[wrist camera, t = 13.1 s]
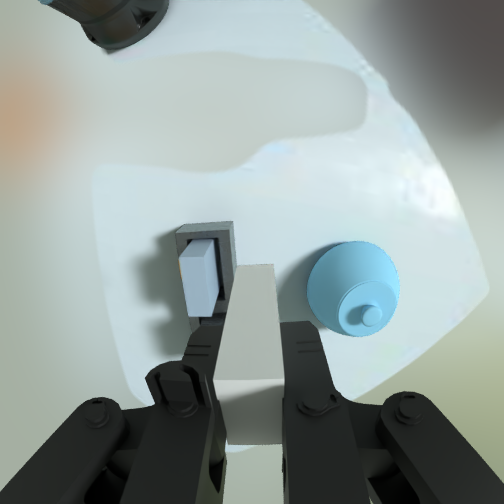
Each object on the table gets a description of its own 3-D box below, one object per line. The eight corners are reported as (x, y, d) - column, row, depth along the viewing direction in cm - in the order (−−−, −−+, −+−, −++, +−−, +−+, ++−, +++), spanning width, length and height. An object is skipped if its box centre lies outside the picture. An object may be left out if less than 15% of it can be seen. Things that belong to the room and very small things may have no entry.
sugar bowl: (398, 242, 42) (434, 269, 31) (376, 321, 47) (399, 360, 36) (313, 231, 42) (330, 258, 31) (298, 317, 47) (306, 360, 36)
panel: (196, 234, 42) (178, 257, 32) (216, 233, 42) (203, 256, 32) (202, 283, 44) (188, 316, 35) (221, 282, 44) (211, 316, 35)
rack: (181, 224, 42) (157, 246, 32) (232, 221, 42) (223, 242, 32) (201, 347, 50) (189, 388, 39) (244, 346, 49) (240, 389, 39)
